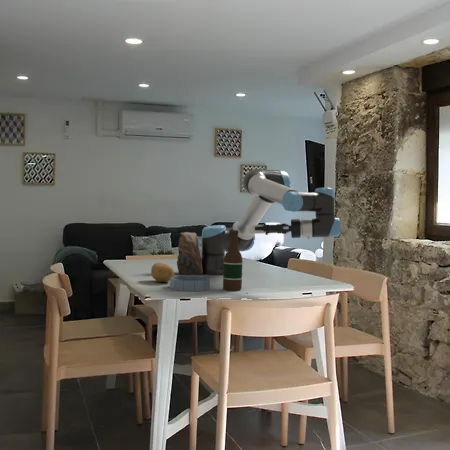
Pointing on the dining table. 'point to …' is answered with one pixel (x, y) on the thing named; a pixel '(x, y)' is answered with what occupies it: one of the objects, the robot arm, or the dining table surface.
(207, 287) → the bowl
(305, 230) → the robot arm
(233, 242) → the beer bottle
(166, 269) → the potato
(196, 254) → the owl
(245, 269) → the dining table surface
